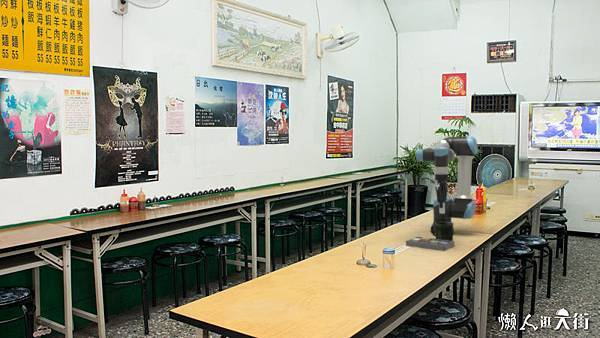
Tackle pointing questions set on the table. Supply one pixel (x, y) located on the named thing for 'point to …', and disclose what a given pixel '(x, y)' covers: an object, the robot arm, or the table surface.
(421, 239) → the block
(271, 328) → the table surface
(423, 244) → the grey compartment rack
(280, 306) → the table surface
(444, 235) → the mug
